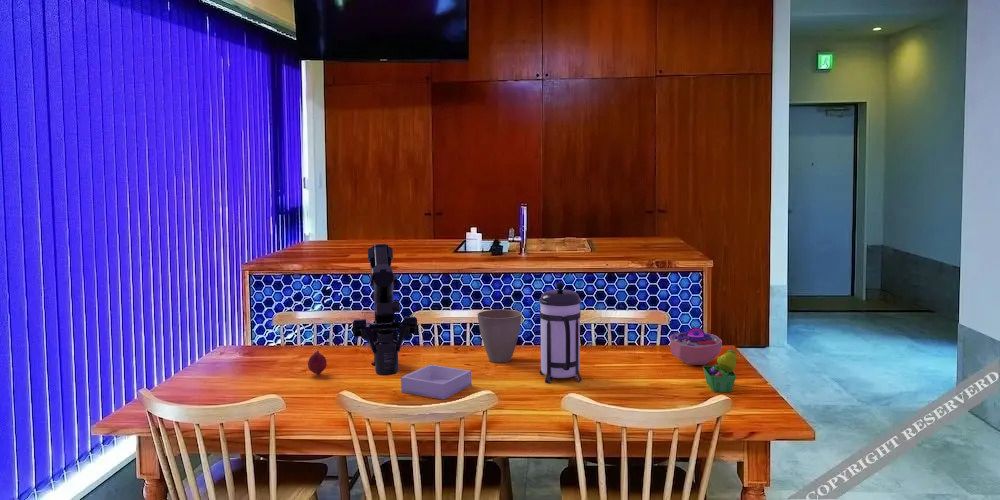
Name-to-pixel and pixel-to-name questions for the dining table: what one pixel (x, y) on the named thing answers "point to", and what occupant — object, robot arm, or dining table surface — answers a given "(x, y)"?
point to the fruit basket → (722, 373)
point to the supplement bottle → (386, 354)
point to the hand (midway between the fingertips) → (386, 351)
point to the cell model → (695, 346)
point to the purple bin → (436, 381)
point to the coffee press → (560, 334)
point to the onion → (317, 363)
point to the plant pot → (499, 333)
